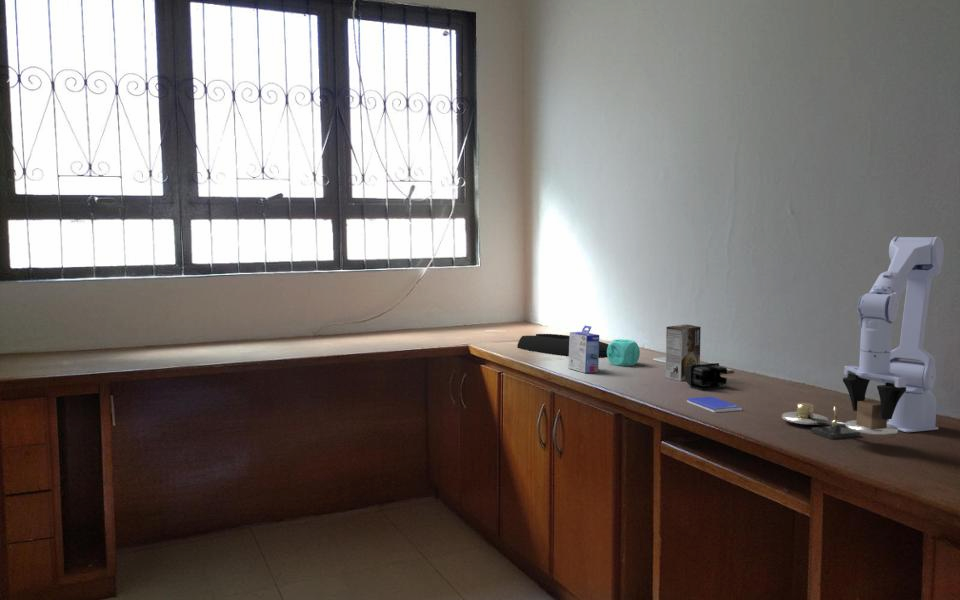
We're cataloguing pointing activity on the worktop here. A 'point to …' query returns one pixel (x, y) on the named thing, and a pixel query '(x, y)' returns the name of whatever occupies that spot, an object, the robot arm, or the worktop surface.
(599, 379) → the worktop surface
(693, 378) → the black electrical connector
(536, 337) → the docking station
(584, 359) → the ink cartridge box
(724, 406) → the hard drive
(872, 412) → the walnut block
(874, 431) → the balance
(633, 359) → the decorative dice
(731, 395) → the worktop surface
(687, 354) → the coffee box
